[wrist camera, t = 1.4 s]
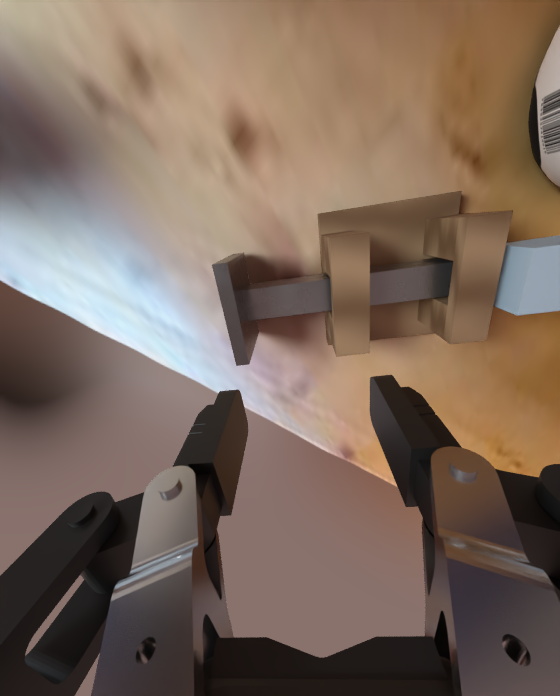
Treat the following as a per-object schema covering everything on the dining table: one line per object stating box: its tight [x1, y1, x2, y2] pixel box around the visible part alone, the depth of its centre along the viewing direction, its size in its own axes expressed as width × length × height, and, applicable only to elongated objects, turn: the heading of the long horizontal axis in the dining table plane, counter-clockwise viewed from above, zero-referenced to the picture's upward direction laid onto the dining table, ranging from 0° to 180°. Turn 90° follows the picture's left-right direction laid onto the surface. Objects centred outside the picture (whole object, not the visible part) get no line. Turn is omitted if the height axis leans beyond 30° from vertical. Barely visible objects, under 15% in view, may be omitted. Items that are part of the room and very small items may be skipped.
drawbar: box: [212, 253, 453, 366], centre depth 24 cm, size 9×30×8 cm, turn 98°
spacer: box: [493, 236, 560, 316], centre depth 21 cm, size 5×5×4 cm
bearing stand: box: [318, 191, 513, 357], centre depth 25 cm, size 14×13×8 cm
